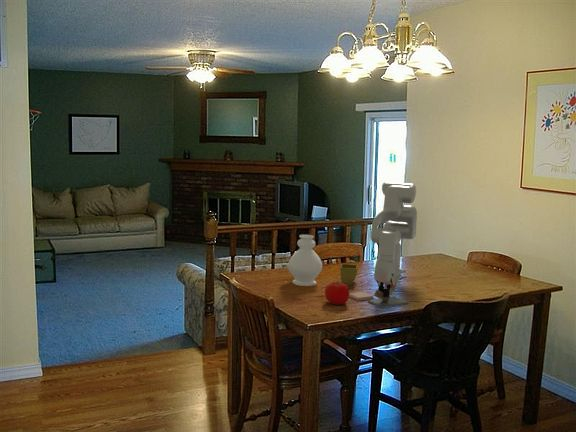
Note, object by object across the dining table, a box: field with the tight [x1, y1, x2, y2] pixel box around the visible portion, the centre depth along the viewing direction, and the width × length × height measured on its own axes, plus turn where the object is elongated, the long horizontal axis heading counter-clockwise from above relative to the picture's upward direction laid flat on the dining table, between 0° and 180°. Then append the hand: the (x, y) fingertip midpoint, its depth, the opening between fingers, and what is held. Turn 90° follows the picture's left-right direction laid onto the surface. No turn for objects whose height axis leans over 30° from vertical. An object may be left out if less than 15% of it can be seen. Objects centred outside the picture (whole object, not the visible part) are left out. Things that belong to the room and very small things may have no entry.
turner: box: [373, 278, 400, 302], centre depth 293 cm, size 12×5×7 cm
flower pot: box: [339, 263, 359, 285], centre depth 329 cm, size 9×9×9 cm
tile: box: [349, 291, 374, 302], centre depth 303 cm, size 2×8×9 cm
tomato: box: [324, 281, 350, 306], centre depth 291 cm, size 12×12×10 cm
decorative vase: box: [287, 234, 323, 287], centre depth 324 cm, size 18×18×25 cm
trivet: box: [367, 295, 409, 309], centre depth 295 cm, size 16×10×1 cm, turn 123°
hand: (383, 295), depth 293 cm, fingers closed on turner, 3 cm apart
